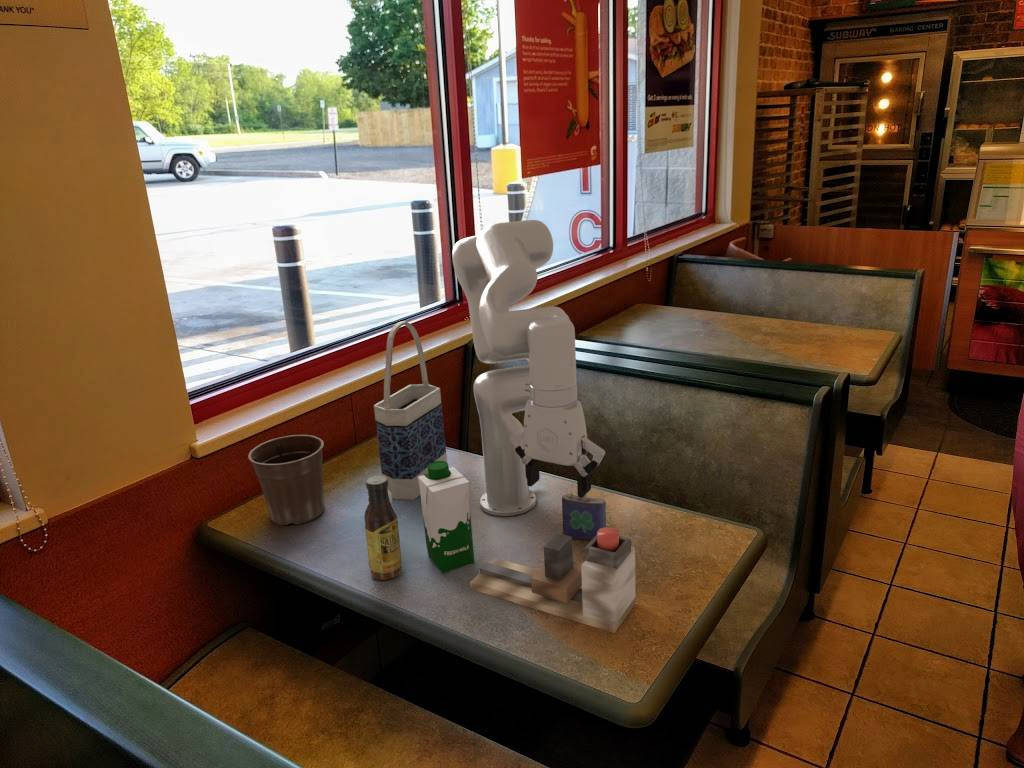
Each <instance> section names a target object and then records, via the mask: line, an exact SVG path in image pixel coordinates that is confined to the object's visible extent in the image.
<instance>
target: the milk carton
mask: <svg viewBox="0 0 1024 768" xmlns="http://www.w3.org/2000/svg"><path fill="white" fill-rule="evenodd" d="M418 481H419V488H420V495H419V496H420V501H421V513H422V519H423V529H424V538H425V544H426V549H427V553H428V554H427V555H428V558H429V559H430V561H431V562H432V563H433V564H434V565H435V567H436V568H437V569H438V571H440V573H441V574H443V575H444V574H445V573H446V574H447V573H448V572H451V571H453V570H458V569H460V568H464V567H466V566H469V565H472V564H475V553H474V550H475V549H474V540H473V539H474V538H473V529H472V517H471V508H470V496H469V495H470V492H469V491H470V481H469V480H468V479H467V478H466V477H465V476H464V474H462V473H461V472H459V471H458V469H456V468H455V467H454V466H451V467H449V463H448V461H447V462H445V461H435V462H432V463H430V464H429V465H428V474H424V475H422V476H418Z"/></svg>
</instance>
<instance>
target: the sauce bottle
mask: <svg viewBox="0 0 1024 768" xmlns="http://www.w3.org/2000/svg"><path fill="white" fill-rule="evenodd" d="M387 487H388V479H387V478H386V477H385V476H382V475H378V476H376V475H374V476H371V477H369V478H367V479H366V480H365V488H366V489H367V494H368V495H367V496H368V498H369V499H368V498H367V499H368V504H367V507H366V509H365V511H364V517H363V518H364V523H365V525H364V530H365V538H366V539H365V540H366V547H367V557H368V565H369V566H368V567H369V569H370V575H371V577H372V578H374V579H375V580H380V581H384V580H385V581H386V580H390V579H394V578H395V577H397V576H398V575H400V574H401V572H402V564H403V562H402V552H401V551H402V550H401V549H402V548H401V542H400V532H399V531H400V530H399V529H400V528H399V523H398V522H399V521H398V516H397V513H396V511H395V510H394V508H393V506H392V505H393V504H392V505H391V503H390V500H389V496H388V488H387Z"/></svg>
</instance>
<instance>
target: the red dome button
mask: <svg viewBox="0 0 1024 768" xmlns="http://www.w3.org/2000/svg"><path fill="white" fill-rule="evenodd" d="M619 536H620V532H619V530H618V529H617V528H615V527H610V526H606V527H604V528H601V529H599V530H598V531H597V547H598V548H599V549H603V550H607V551H611V552H616V551H617V550H618V548H619Z"/></svg>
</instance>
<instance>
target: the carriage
mask: <svg viewBox="0 0 1024 768" xmlns="http://www.w3.org/2000/svg"><path fill="white" fill-rule="evenodd" d="M573 553H574V549H573V539H572V537H570V536H566V535H563V533H558V532H557V533H555V535H553V537H552V538H551V539H550V540H549V541H547V543H545V544H544V546H543V560H544V561H543V563H544V564H543V565H542V566H541V567H540V568H539V569H537V570H538V571H537V572H536V574H535V575H534V576H533V577H532V578H531V585H532V593H535V594H538V595H541V596H545V597H548V598H551V599H555V600H558V601H562V602H565V603H568V602H569V601H570V599H571V598H572V597H573V596H574V595H575V593H576V592H577V591H578V590H579V589H580V588H581V586H582V574H581V565H582V564H583V562H582V563H581V562H578V561H574V554H573Z"/></svg>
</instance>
